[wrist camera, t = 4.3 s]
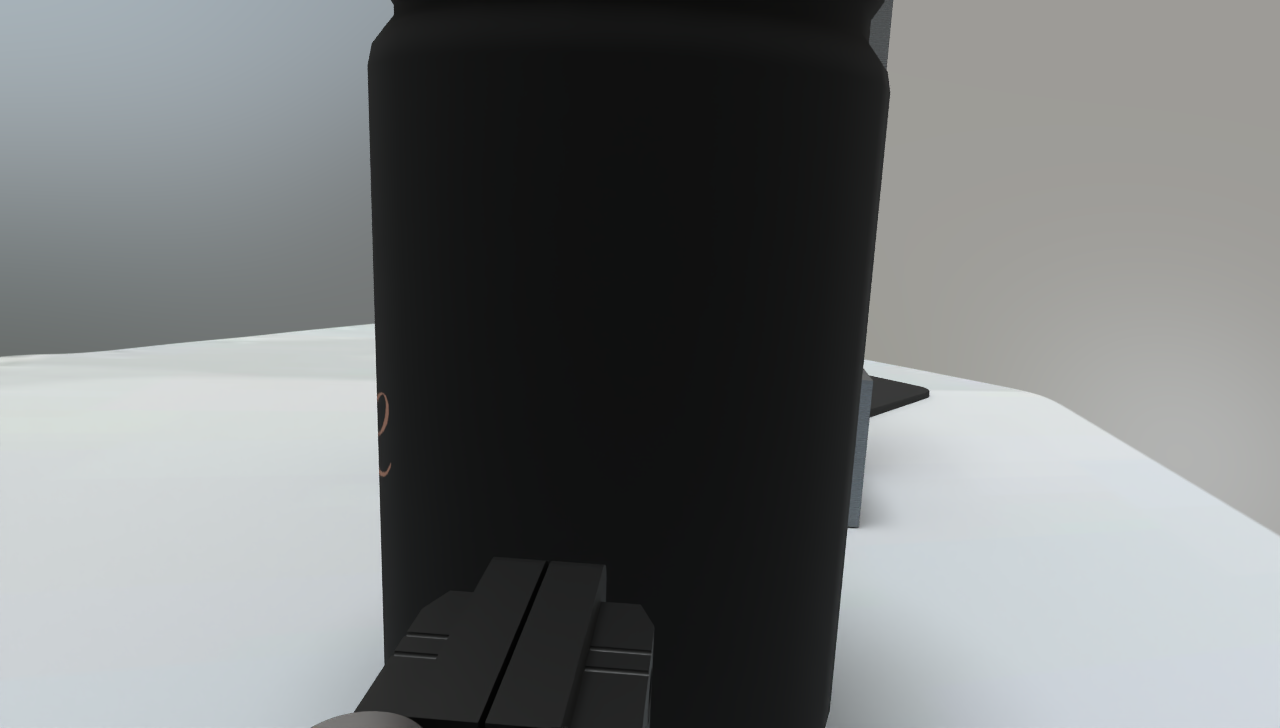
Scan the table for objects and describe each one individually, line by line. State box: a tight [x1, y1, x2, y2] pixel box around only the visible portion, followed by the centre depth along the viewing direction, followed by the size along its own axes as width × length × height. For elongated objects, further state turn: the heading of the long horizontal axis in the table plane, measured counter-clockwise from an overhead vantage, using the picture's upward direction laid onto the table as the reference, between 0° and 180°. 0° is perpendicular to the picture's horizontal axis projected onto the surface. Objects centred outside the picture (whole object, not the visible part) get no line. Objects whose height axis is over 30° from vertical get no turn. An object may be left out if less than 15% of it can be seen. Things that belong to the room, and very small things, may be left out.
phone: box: [870, 376, 929, 417], centre depth 53 cm, size 7×1×15 cm
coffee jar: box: [368, 0, 890, 728], centre depth 20 cm, size 11×11×18 cm
